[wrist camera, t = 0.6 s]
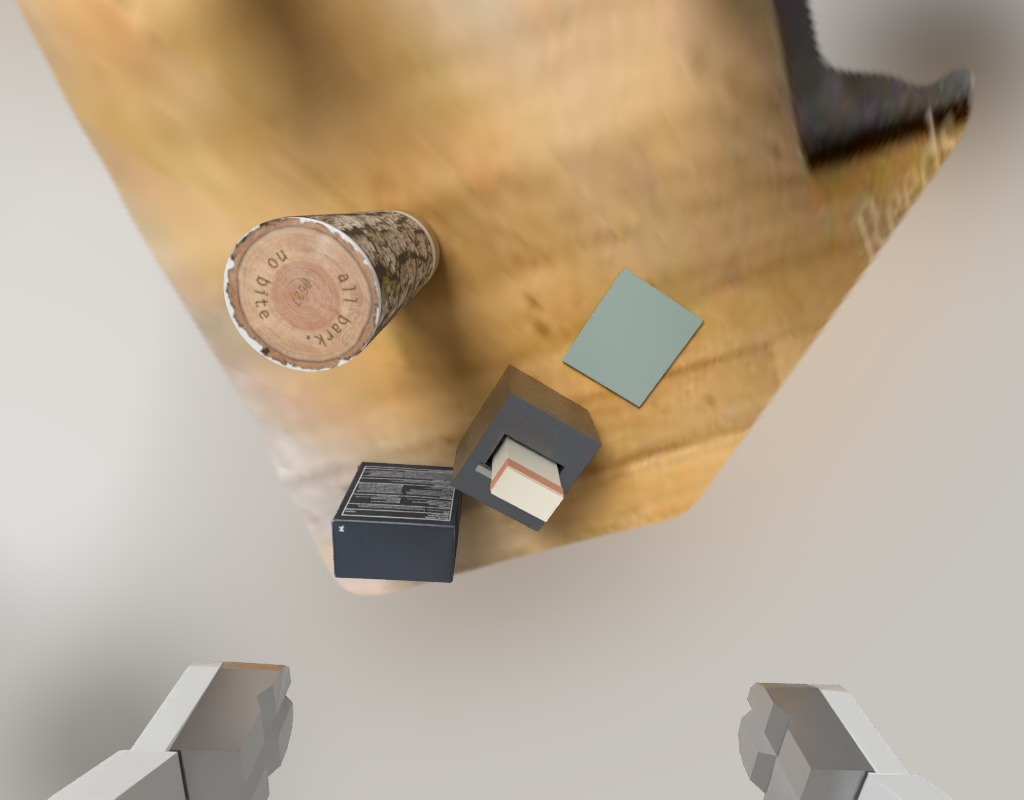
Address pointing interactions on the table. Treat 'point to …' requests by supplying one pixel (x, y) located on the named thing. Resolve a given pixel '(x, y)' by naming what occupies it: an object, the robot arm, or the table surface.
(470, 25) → the table surface
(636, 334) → the mat
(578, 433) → the dispenser
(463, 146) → the table surface
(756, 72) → the table surface
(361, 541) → the small box
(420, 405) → the table surface
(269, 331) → the paper tube
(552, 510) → the white block
